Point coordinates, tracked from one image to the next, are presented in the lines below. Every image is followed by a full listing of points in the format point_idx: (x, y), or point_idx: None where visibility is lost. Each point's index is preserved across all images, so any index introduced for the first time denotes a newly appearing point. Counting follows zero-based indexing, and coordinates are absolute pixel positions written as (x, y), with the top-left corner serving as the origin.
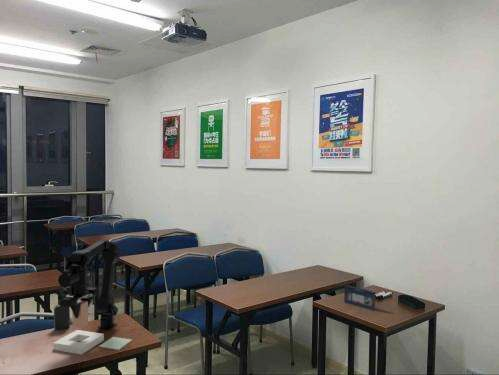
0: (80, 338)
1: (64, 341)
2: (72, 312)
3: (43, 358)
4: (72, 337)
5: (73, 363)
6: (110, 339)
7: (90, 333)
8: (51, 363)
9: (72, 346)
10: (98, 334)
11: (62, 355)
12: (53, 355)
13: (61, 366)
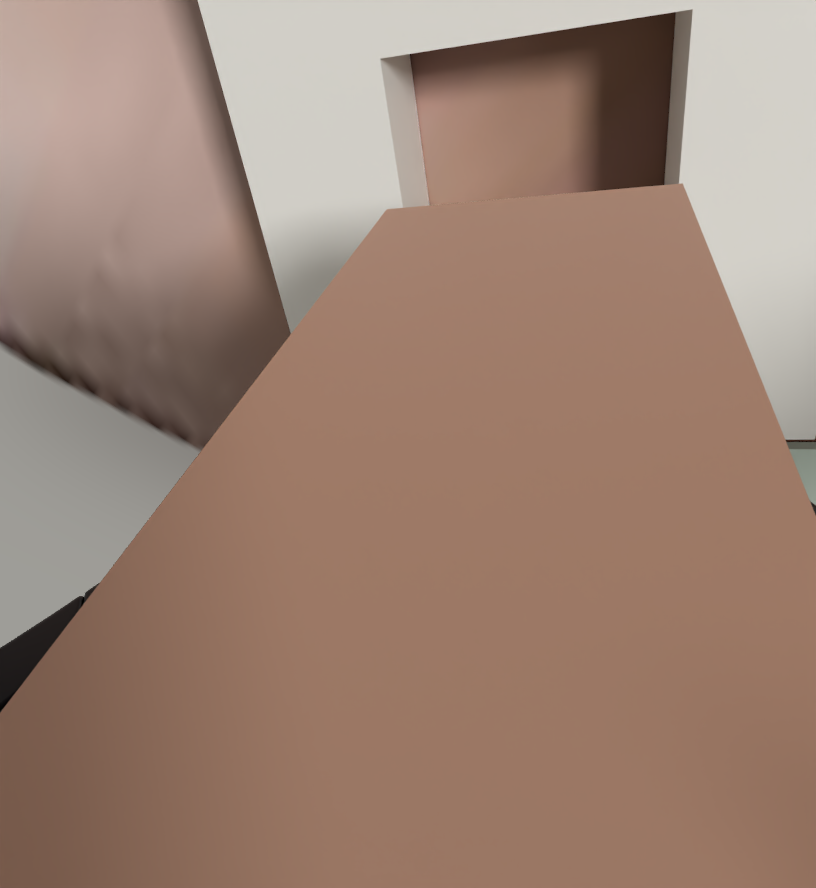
0: (679, 65)
1: (316, 48)
2: (226, 422)
3: (13, 29)
4: (513, 35)
5: (192, 439)
6: (807, 464)
7: (789, 231)
8: (46, 247)
9: (288, 309)
10: (772, 384)
11: (212, 205)
12: (138, 86)
13: (94, 383)
